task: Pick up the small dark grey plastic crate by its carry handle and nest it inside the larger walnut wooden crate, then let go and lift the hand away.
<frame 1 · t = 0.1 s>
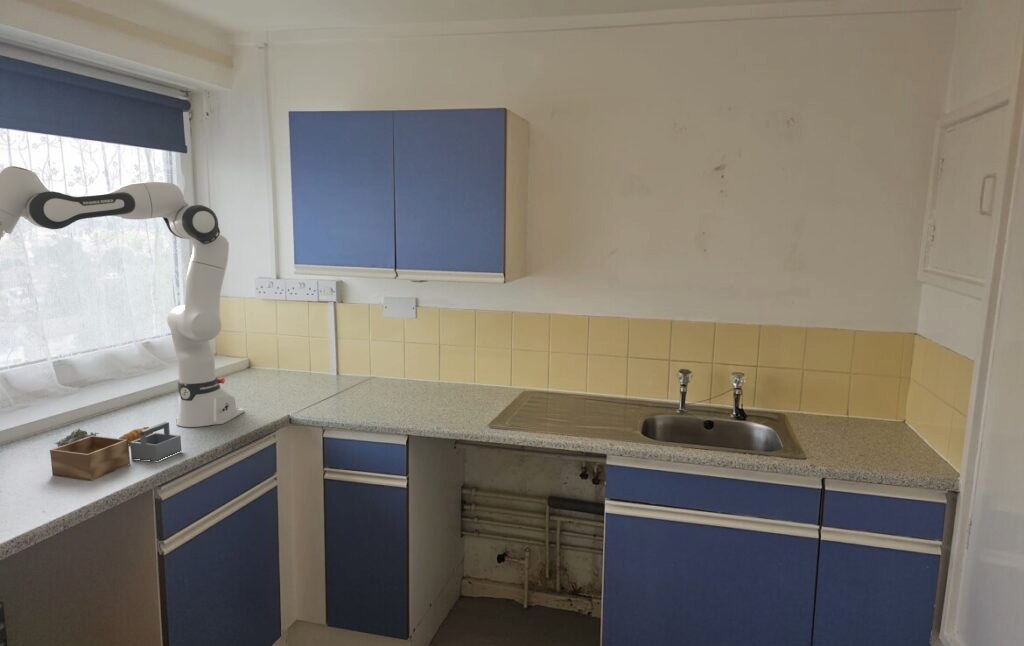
big crate: (92, 469, 180), on the countertop
small crate: (157, 455, 192), on the countertop
pastry: (138, 442, 205), on the countertop
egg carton: (78, 447, 200), on the countertop
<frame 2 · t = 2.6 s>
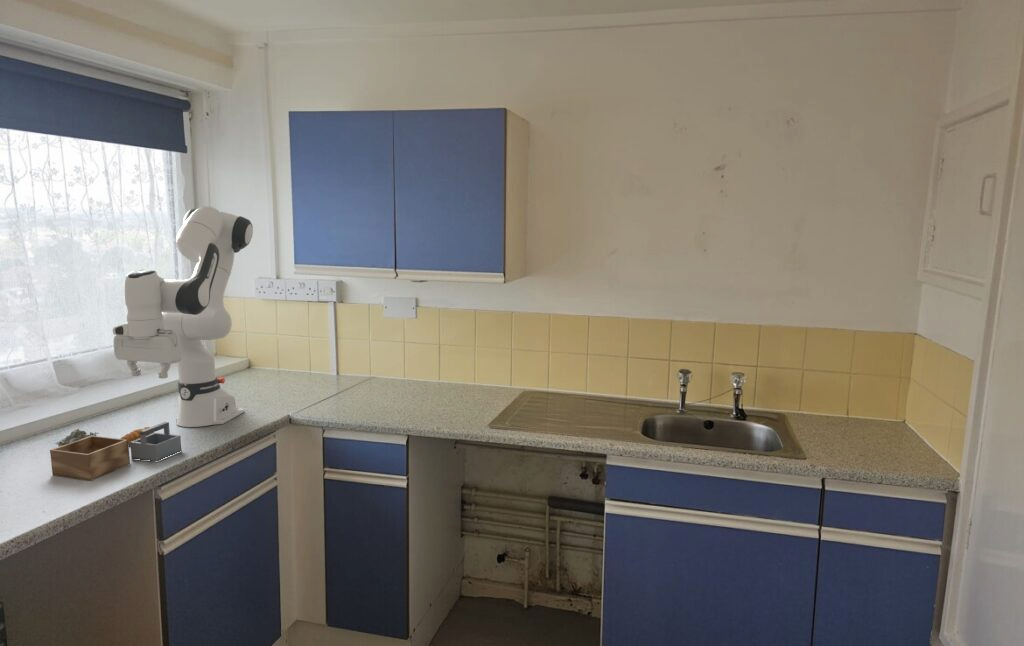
hand: (149, 376, 188), 23 cm above the countertop, tool pointing down, fingers open, 8 cm apart
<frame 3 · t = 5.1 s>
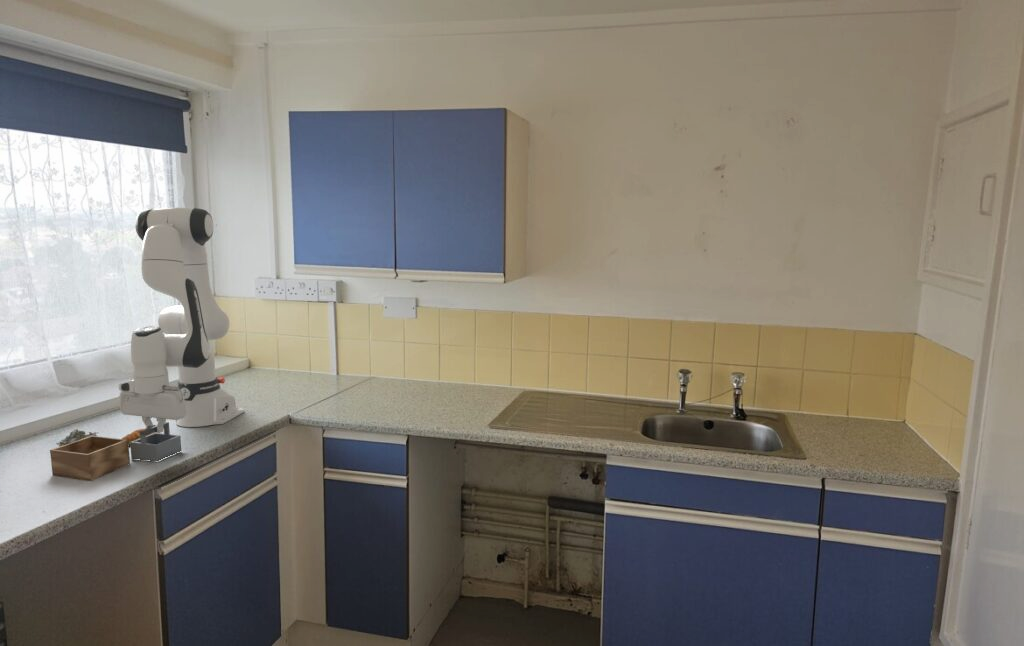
hand: (155, 431, 190), 7 cm above the countertop, tool pointing down, fingers closed on small crate
small crate: (157, 455, 192), on the countertop, touching gripper
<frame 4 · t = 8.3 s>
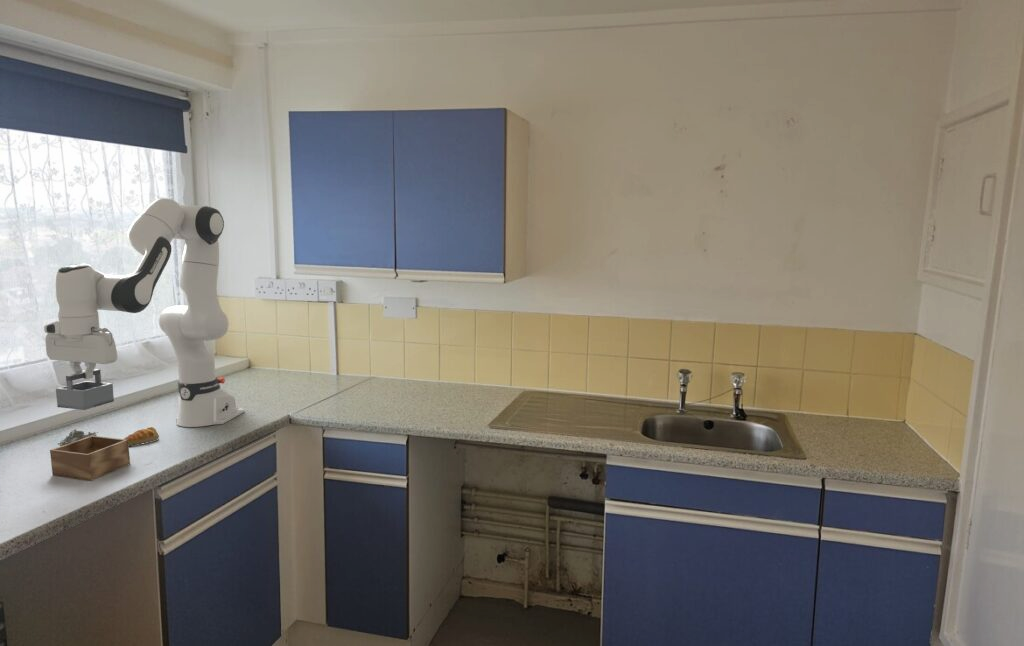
hand: (84, 378, 177), 25 cm above the countertop, tool pointing down, fingers closed on small crate
small crate: (86, 404, 178), point 18 cm above the countertop, touching gripper
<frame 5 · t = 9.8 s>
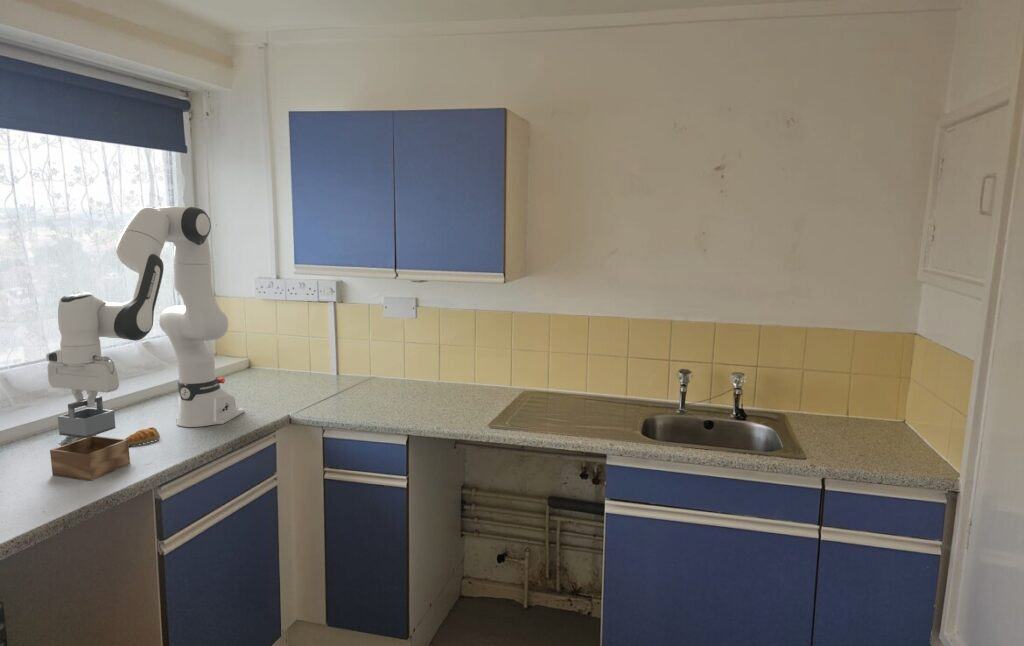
hand: (85, 405, 178), 18 cm above the countertop, tool pointing down, fingers closed on small crate
small crate: (87, 431, 179), point 11 cm above the countertop, touching gripper
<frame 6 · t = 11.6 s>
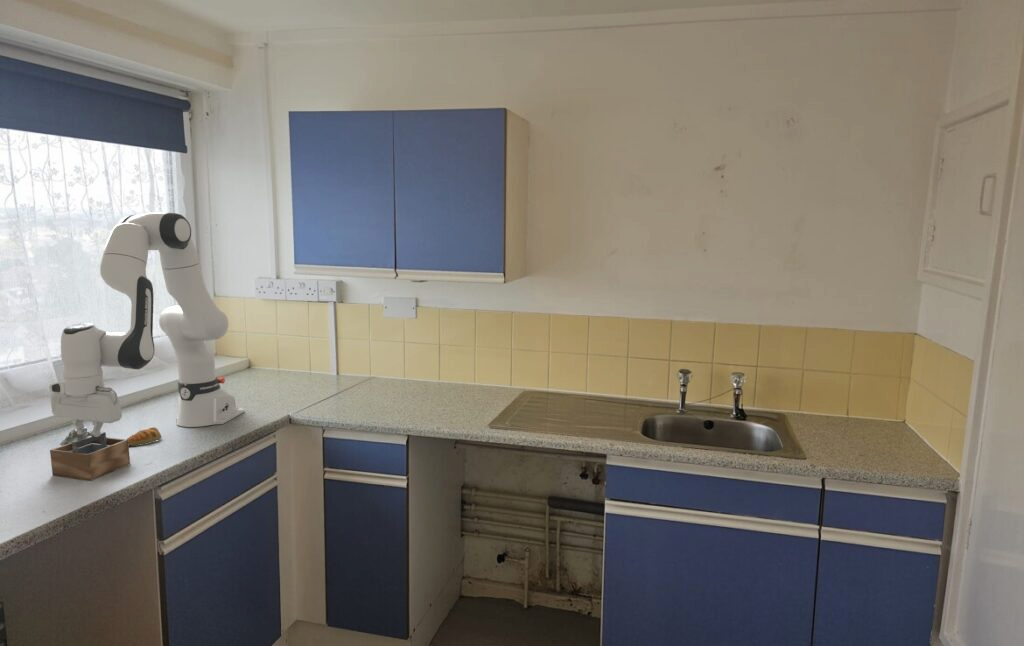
hand: (89, 435, 179), 10 cm above the countertop, tool pointing down, fingers open, 3 cm apart
small crate: (92, 467, 180), point 1 cm above the countertop, touching big crate
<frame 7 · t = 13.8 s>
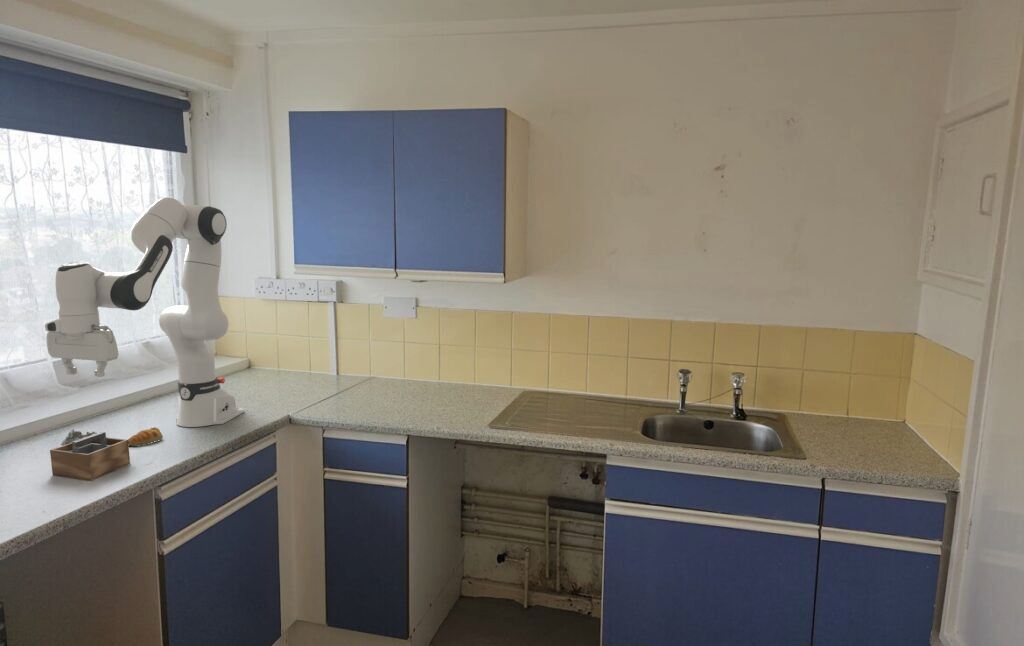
hand: (85, 375, 178), 26 cm above the countertop, tool pointing down, fingers open, 8 cm apart
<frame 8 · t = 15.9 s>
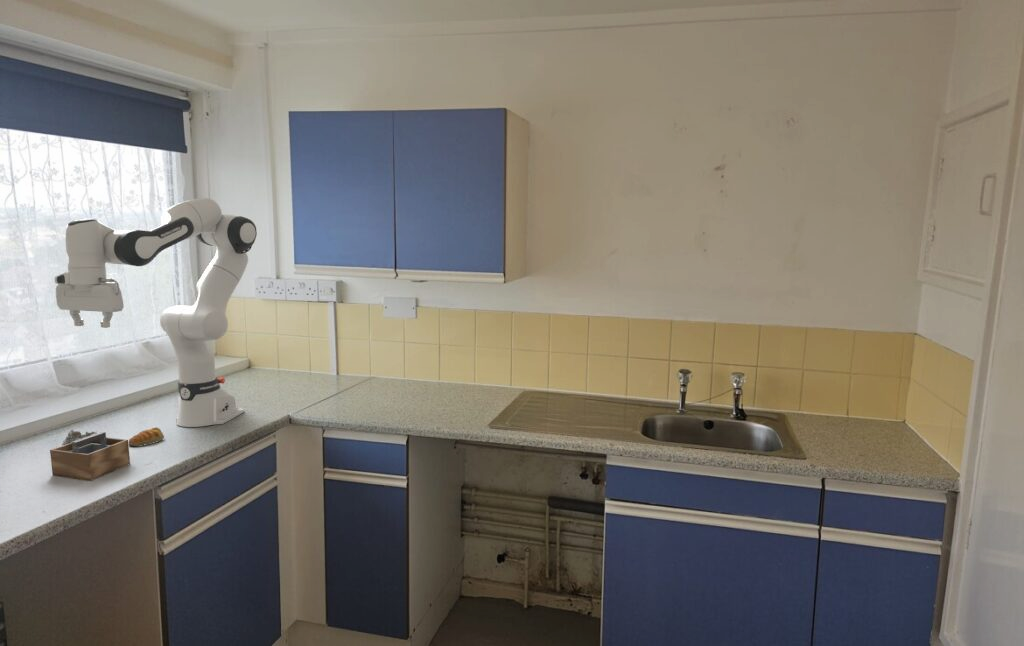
hand: (92, 326, 187), 37 cm above the countertop, tool pointing down, fingers open, 8 cm apart
at the end: small crate 0.0 cm off-centre on the big crate, point 0.6 cm above the big crate's base; small crate tilted 0°; the gripper is holding nothing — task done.
